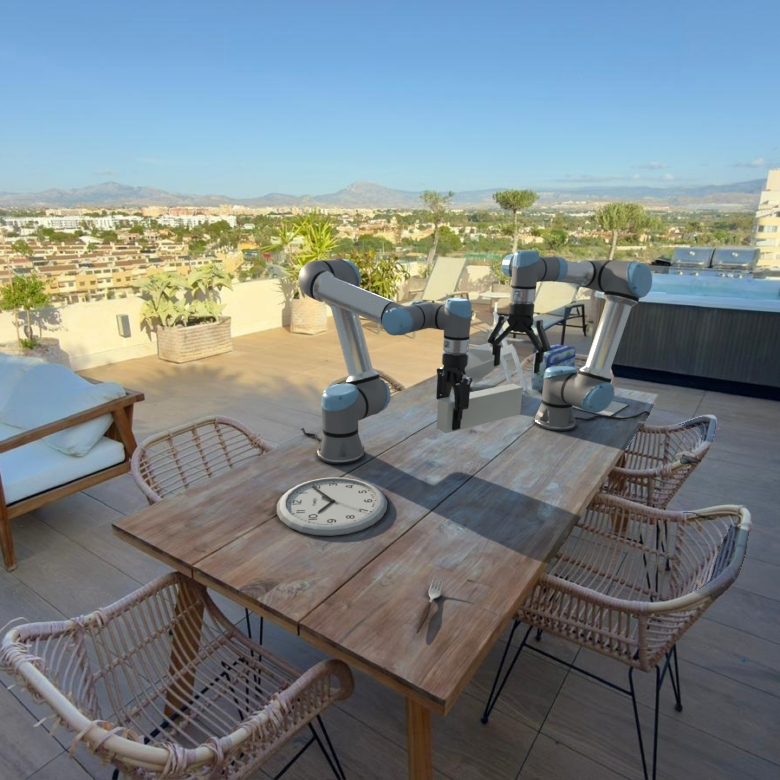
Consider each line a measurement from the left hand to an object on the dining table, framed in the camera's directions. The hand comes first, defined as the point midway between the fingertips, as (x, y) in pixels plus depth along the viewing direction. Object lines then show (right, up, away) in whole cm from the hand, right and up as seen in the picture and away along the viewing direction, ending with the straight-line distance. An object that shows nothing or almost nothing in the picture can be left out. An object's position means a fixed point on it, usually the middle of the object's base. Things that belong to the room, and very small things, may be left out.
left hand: (450, 426), depth 160 cm
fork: (-11, -33, -55) cm, 65 cm away
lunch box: (+59, +11, +90) cm, 108 cm away
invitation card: (+73, +4, +66) cm, 99 cm away
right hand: (+22, +18, +7) cm, 29 cm away
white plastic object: (+23, +10, +83) cm, 87 cm away
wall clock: (-34, -20, -17) cm, 43 cm away
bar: (+10, +1, +7) cm, 13 cm away
